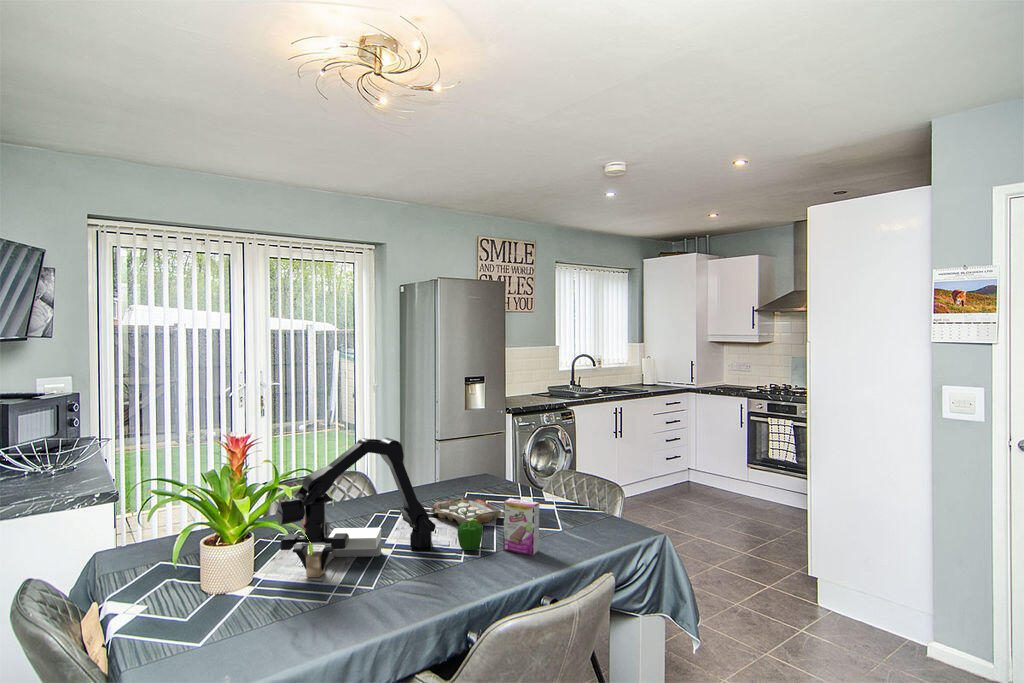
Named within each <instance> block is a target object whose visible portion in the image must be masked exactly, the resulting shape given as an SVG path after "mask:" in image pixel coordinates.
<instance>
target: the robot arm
mask: <svg viewBox="0 0 1024 683" xmlns="http://www.w3.org/2000/svg"><path fill="white" fill-rule="evenodd" d="M367 454H376V455H380V456H381V458H382V459H383V461H384V462H385V463H386V464H387V466H388V467H389V470H390V472H391V475H392V477H393V480H394V483H395V485H396V488H397V490H398V492H399V496H400V497H401V500H402V503H403V507H402V508H401V509H400V510H399V512H400V513H401V515H402V521H403V522H406V523H407V524H408V526H409V527H410V528H412V530H411V533H410V534H409V536H410V538H409V540H410V541H409V542H410V546H409V547H410V548H411V549H410V550H411V552H426V551H427V552H429V551H432V546H433V542H432V541H433V540H432V538H433V537H432V535H433V534H432V533H433V532H435V529H436V527H437V526H436V523H435V522H433V521H432V520H431V519H430V516H429V514H428V513H427V511H426V508H424V506H423V505H422V504H421V503H420V501H419V500H418V498H417V495H416V493H415V491H414V488H413V484H412V482H411V479H410V477H409V474H408V472H407V469H406V467H405V464H404V458H405V455H404V449H403V445H402V444H401V442H400V441H398V440H396V439H393V438H389V437H383V438H381V439H376V438H365V437H363V438H360V439H359V440H357V441H356V443H355V444H353V445H352V446H350V447H349V448H348V449H347V450H345V451H344V452H343V453H342V454H340V455H339V456H338V457H337V458H335V459H334V460H333V461H332V462H330V463H329V464H327V465H326V466H325V467H322V468H319V469H316V470H315V471H313V472H311V473H309V474H307V475H306V476H305V477H304V478H303V480H302V483H301V484H302V485H301V486H300V488H299V490H298V491H297V493H296V494H295V496H294V497H295V498H290V499H280V500H279V501H278V505H277V509H276V520H277V521H276V522H277V524H278V525H279V526H283V525H287V524H288V525H289V524H293V523H297V522H298V523H299V522H301V521H302V520H304V519H305V524H304V528H305V530H304V537H300V534H299V533H287V534H286V535H285V536H284V537H283V538H282V539H281V540H280V543H279V550H280V551H291V550H292V549H293V550H292V553H295V554H296V555H297V557H298V559H300V561H301V563H302V565H303V567H304V569H305V570H306V556H307V555H308V554H309V552H308V551H309V545H310V543H309V541H310V542H311V545H312V546H313V545H318V546H319V545H324V547H323V549H322V550H321V551H322V570H324V568H325V569H326V566H327V565H326V562H327V559H328V556H329V554H330V552H332V551H333V550H334V549H344V548H346V546H347V544H348V543H349V535H348V534H347V533H336V534H335V535H334V537H329V536H328V535H329V533H330V530H331V522H329V521H327V517H326V503H329V502H333V500H334V499H333V498H332V497H330V496H329V494H328V493H327V492H328V491H329V490H330V489H331V487H333V485H334V483H335V481H336V480H337V479H338V478H339V477H340V476H341V475H342V474H343V473H344V472H346V471H347V470H349V469H350V468H351V467H352V466H353V465H354V464H356V463H357V462H358V461H360V460H361V459H362V458H363V457H365V456H366V455H367ZM304 528H303V529H304ZM305 534H306V535H307V537H308V539H309V540H308V539H307V537H306V536H305ZM327 536H328V537H327ZM325 565H326V566H325Z"/></svg>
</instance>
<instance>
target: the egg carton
mask: <svg viewBox="0 0 1024 683" xmlns="http://www.w3.org/2000/svg"><path fill="white" fill-rule="evenodd" d="M432 506H433V507H431V509H429V510H428V511H429V512H430V513H431V514H432V515H433V514H434V515H436V516H438V517H439V519H443V520H446V519H448V520H449V522H452V523H453V522H455V521H456V522H457V524H458V525H460V524H462V523H463V522H465V523H469V522H470V520H472V519H477V520H478V521H477V522H475V523H476V524H481V525H482V523H489V522H491V521H492V519H493V518H494V517H495V519H498V518H499V515H501V513H504V508H502V509H496V508H495V507H493V506H492V505H491V504H490V503H487V502H486V501H484V500H481V499H478V498H474V497H466V496H459V497H457V498H456V497H455V498H449V499H447V500H444V501H438V502H435V503H434V504H433V505H432Z"/></svg>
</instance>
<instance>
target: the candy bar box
mask: <svg viewBox="0 0 1024 683" xmlns="http://www.w3.org/2000/svg"><path fill="white" fill-rule="evenodd" d="M503 509H504V512H503V536H502V538H503V541H502V542H503V545H502V546H503V548H502V549H503V551H509V552H513V553H518V554H522V555H523V554H524V555H528V556H535V555H536V554H537V553H538V552H539V550H540V546H539V545H540V544H539V542H540V537H539V536H540V502H535V501H530V500H523V499H519V498H513V497H509V498H507V499H506V500H504V501H503Z"/></svg>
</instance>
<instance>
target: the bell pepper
mask: <svg viewBox="0 0 1024 683" xmlns="http://www.w3.org/2000/svg"><path fill="white" fill-rule="evenodd" d="M477 521H478V520H477V519H472V520H470V522H469V523H465V522H463V523H462V524H459V526H458V527H457V539H458V544H459V547H460V548H461V549H462V550H464V551H470V550H478V549H479V548H480V545H481V543H482V539H483V534H484V531H483V530H484V526H483V525H482V523H481V524H476V523H475V522H477Z"/></svg>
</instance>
